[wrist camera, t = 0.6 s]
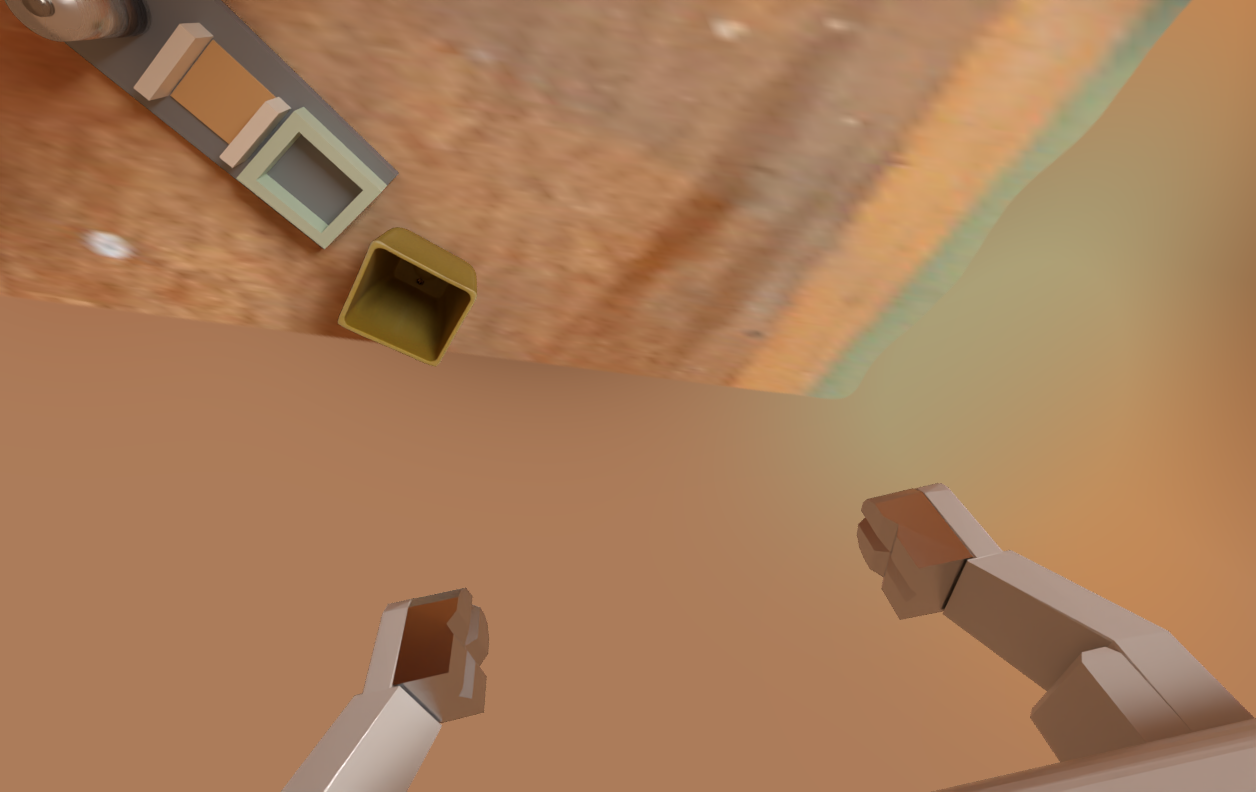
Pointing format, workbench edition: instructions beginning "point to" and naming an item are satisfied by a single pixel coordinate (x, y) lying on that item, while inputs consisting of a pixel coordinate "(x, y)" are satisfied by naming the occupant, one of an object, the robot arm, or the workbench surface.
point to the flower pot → (410, 296)
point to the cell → (83, 18)
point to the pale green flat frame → (287, 203)
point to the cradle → (214, 90)
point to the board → (302, 162)
